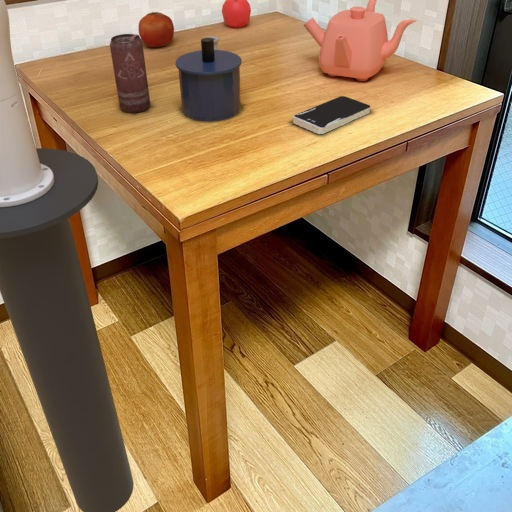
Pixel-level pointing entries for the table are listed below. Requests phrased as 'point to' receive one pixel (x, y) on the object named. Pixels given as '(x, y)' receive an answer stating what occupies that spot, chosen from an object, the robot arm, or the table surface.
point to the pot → (210, 95)
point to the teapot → (355, 42)
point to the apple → (236, 13)
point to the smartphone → (331, 114)
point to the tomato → (156, 29)
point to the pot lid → (208, 60)
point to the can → (130, 73)
